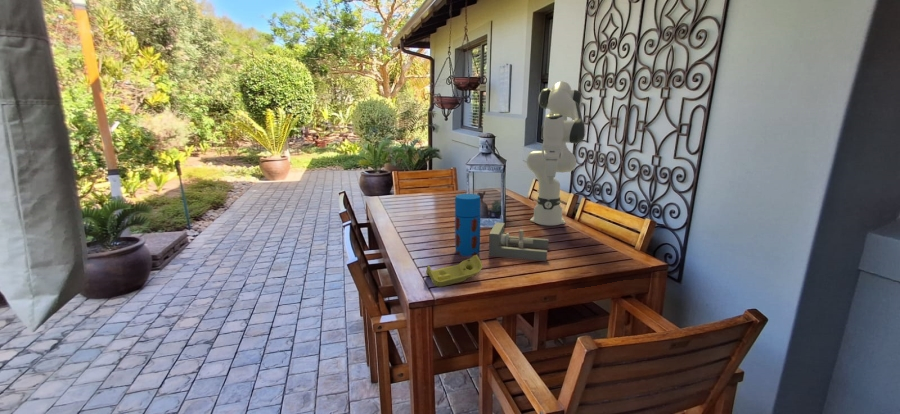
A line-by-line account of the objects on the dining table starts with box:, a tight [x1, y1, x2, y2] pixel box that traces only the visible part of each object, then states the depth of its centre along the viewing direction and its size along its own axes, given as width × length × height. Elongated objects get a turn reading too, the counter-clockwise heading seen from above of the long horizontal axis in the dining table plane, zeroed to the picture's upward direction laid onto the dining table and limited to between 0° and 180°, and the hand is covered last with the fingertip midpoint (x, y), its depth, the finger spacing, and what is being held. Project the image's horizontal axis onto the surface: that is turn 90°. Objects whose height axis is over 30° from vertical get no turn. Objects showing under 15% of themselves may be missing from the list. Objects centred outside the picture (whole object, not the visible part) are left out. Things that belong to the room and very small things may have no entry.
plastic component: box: [425, 254, 483, 288], centre depth 148 cm, size 20×7×10 cm
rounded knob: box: [501, 232, 510, 247], centre depth 176 cm, size 6×7×6 cm
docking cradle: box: [488, 222, 549, 262], centre depth 173 cm, size 17×24×10 cm
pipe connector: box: [510, 229, 533, 248], centre depth 173 cm, size 10×10×10 cm
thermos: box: [454, 193, 481, 257], centre depth 172 cm, size 11×11×25 cm
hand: (550, 183), depth 176 cm, fingers closed
